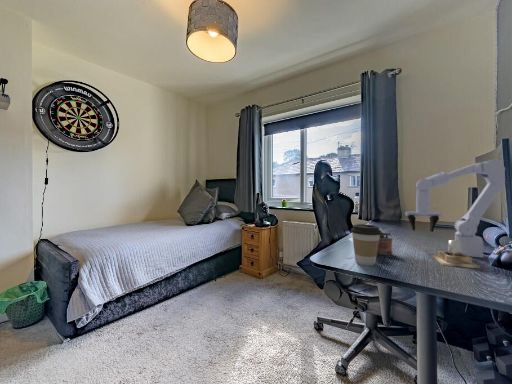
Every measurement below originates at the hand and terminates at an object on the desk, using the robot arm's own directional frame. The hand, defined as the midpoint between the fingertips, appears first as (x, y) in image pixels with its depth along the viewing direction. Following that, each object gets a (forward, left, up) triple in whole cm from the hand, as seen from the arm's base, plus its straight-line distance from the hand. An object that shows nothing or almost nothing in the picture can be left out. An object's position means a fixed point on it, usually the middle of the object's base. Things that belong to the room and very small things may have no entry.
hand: (422, 230), depth 118 cm
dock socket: (-6, +19, -9) cm, 22 cm away
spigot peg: (-6, +19, -9) cm, 22 cm away
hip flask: (+20, +15, -10) cm, 27 cm away
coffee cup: (+29, +33, -10) cm, 45 cm away
